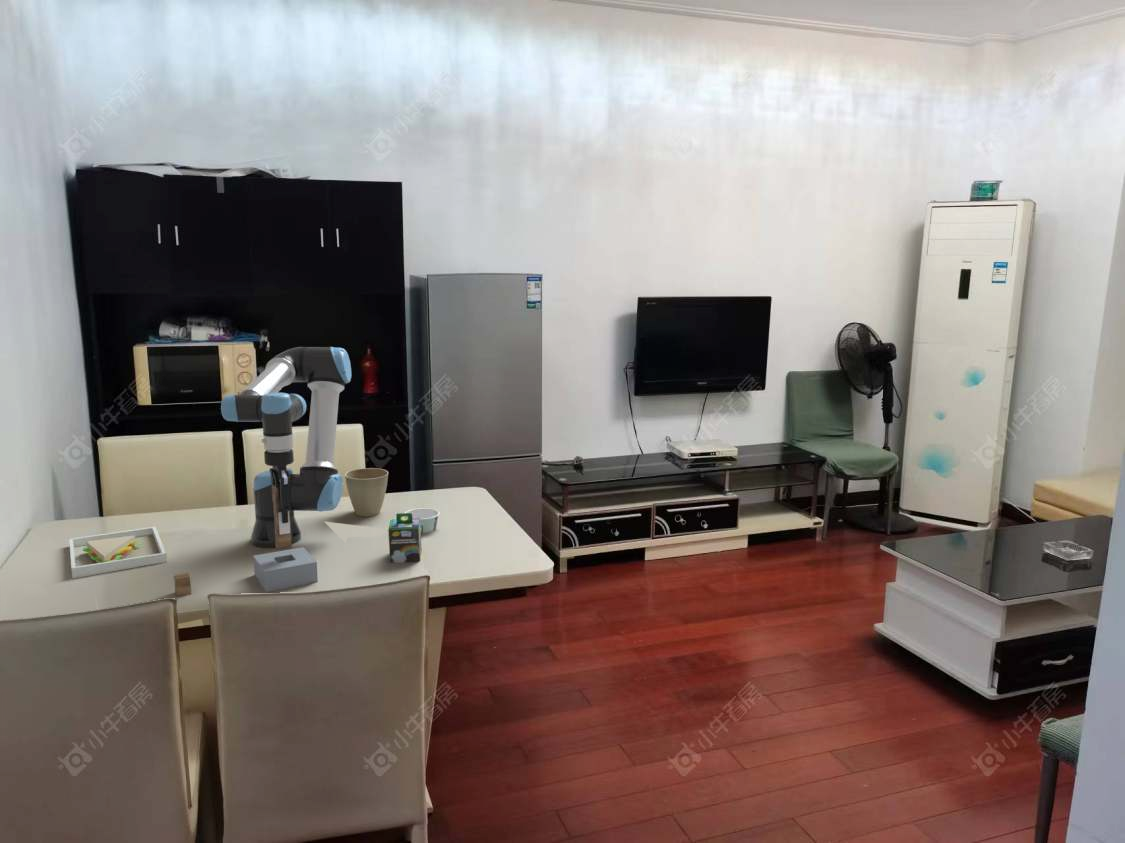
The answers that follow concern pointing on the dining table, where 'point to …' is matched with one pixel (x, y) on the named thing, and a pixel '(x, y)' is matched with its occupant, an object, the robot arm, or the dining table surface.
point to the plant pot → (366, 490)
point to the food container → (425, 518)
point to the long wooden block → (283, 539)
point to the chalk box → (405, 539)
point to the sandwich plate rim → (117, 564)
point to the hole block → (285, 569)
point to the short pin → (182, 584)
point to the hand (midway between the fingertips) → (282, 531)
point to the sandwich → (110, 548)
